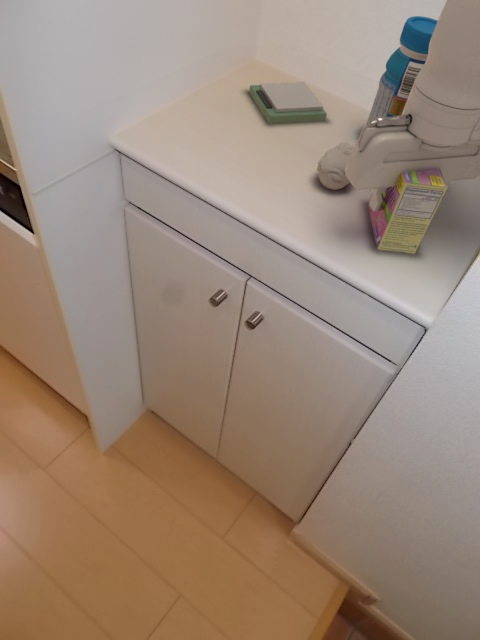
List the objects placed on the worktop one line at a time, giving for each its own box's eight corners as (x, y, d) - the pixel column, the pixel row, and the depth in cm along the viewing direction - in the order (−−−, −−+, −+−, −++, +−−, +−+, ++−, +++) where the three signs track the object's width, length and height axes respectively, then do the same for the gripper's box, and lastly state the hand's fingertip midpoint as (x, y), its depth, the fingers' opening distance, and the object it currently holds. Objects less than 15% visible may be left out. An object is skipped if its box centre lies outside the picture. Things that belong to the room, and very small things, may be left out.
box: (365, 206, 81) (391, 137, 72) (401, 211, 81) (432, 142, 72) (374, 252, 74) (405, 182, 65) (413, 256, 75) (449, 187, 66)
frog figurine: (360, 191, 83) (375, 153, 78) (327, 202, 80) (339, 163, 75) (336, 170, 86) (349, 132, 81) (303, 180, 83) (313, 141, 78)
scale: (301, 93, 102) (304, 79, 100) (324, 123, 96) (328, 109, 93) (248, 95, 99) (250, 80, 97) (268, 126, 92) (271, 111, 90)
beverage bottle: (350, 138, 93) (389, 17, 78) (380, 126, 98) (422, 9, 82) (387, 162, 90) (435, 40, 75) (415, 148, 94) (466, 31, 79)
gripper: (378, 132, 59) (344, 227, 69) (522, 123, 65) (470, 212, 75) (354, 103, 62) (325, 198, 73) (492, 97, 68) (447, 185, 79)
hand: (400, 205), depth 74 cm, fingers closed on box, 6 cm apart
